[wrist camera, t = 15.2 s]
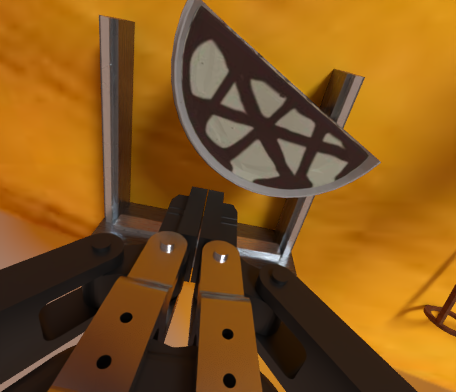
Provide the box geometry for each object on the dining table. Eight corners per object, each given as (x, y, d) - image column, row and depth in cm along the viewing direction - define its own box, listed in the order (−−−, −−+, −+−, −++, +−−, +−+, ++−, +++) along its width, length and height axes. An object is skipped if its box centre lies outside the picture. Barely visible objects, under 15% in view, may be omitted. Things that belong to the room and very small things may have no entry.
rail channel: (117, 18, 19) (73, 10, 14) (349, 72, 21) (385, 83, 15) (117, 209, 28) (89, 249, 23) (282, 240, 29) (292, 285, 24)
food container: (163, 83, 22) (113, 113, 13) (209, 8, 19) (183, -17, 10) (279, 171, 25) (300, 242, 16) (330, 118, 22) (388, 168, 14)
